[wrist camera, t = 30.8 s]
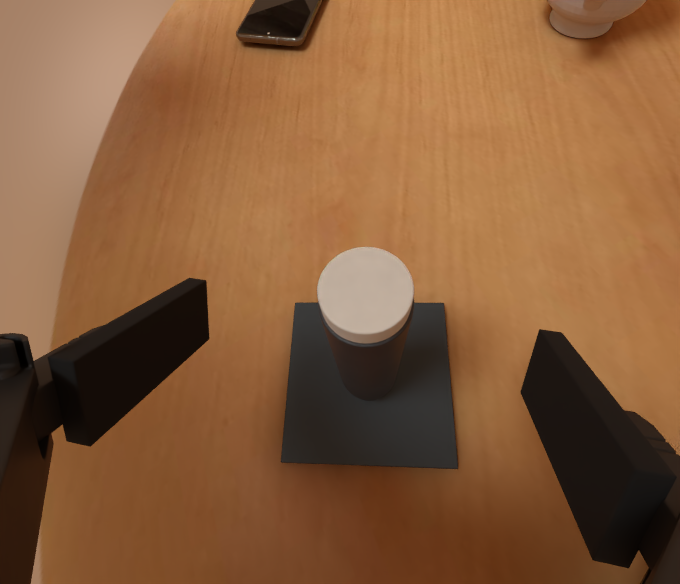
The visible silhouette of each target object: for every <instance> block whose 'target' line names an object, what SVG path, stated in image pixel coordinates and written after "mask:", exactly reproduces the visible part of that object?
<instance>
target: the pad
mask: <svg viewBox="0 0 680 584" xmlns="http://www.w3.org/2000/svg"><path fill="white" fill-rule="evenodd" d="M281 462H284V463H311V464H337V465H364V466H391V467H418V468H445V469H458V461H457V449H456V438H455V426H454V415H453V403H452V392H451V380H450V368H449V357H448V345H447V334H446V322H445V310H444V303H414V311H413V315H412V319H411V323H410V327H409V330H408V334H407V338H406V342H405V345H404V349H403V353H402V357H401V360H400V364H399V368H398V372H397V375H396V379H395V382H394V385H393V387H392V388H391V390H390V391H389V392H388V393H387V394H386V395H384V396H383V397H381V398H379V399H377V400H373V401H365V400H362V399H359V398H357V397H355V396H354V395H352V394H351V393H350V392H349V391H348V390H347V389H346V387H345V386H344V384H343V382H342V379H341V376H340V373H339V370H338V367H337V364H336V361H335V358H334V355H333V353H332V350H331V347H330V344H329V341H328V338H327V335H326V332H325V329H324V326H323V324H322V321H321V318H320V314H319V309H318V303H295V311H294V322H293V333H292V344H291V355H290V366H289V377H288V389H287V400H286V411H285V422H284V433H283V444H282V455H281Z"/></svg>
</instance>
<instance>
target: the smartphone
mask: <svg viewBox="0 0 680 584" xmlns="http://www.w3.org/2000/svg"><path fill="white" fill-rule="evenodd" d="M322 1H323V0H255V1H254V3H253V4H252V6H251V8H250V9H249V11H248V13H247V14H246V16H245V18H244V20H243V21H242V23H241V25H240V26H239V28H238V30H237V31H236V36H237V38H238V39H239V40H240V41H243V42H253V43H265V44H276V45H288V46H299V45H301V44H302V43H303V42H304V40H305V38H306V36H307V34H308V31H309V29H310V27H311V25H312V23H313V21H314V18H315V16H316V14H317V12H318V10H319V8H320V5H321V3H322Z"/></svg>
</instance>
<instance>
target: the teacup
mask: <svg viewBox="0 0 680 584" xmlns="http://www.w3.org/2000/svg"><path fill="white" fill-rule="evenodd" d="M547 1H548V3H549V4H550V6H551V7H552V8H553V10H552V11H551V13H550V23H551V25H552V26H553V27H554V28H555V29H556V30H557V31H558V32H560V33H562V34H564V35H567V36H570V37H575V38H594V37H597V36H600V35H602V34H604V33H606V32H607V31H608V30H609V29H610V28H611V26H612V24H613V21H617V20H619V19H622V18H624V17H626V16H628V15H630V14H631V13H633V12H634V11H636V10H637V9H638V8H640V7H641V6H642V5H643V4H644V3H645V2H646V1H647V0H547Z"/></svg>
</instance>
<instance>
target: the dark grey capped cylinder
mask: <svg viewBox="0 0 680 584" xmlns="http://www.w3.org/2000/svg"><path fill="white" fill-rule="evenodd" d="M317 296H318V309H319V314H320V318H321V321H322V324H323V326H324V329H325V332H326V335H327V338H328V341H329V344H330V347H331V350H332V353H333V355H334V358H335V361H336V364H337V367H338V370H339V373H340V376H341V379H342V382H343V384H344V386H345V387H346V389H347V390H348V391H349V392H350V393H351V394H352V395H354V396H355V397H357V398H359V399H362V400H365V401H373V400H377V399H379V398H381V397H383V396H384V395H386V394H387V393H388V392H389V391H390V390H391V388H392V387H393V385H394V382H395V379H396V375H397V372H398V368H399V364H400V360H401V357H402V353H403V349H404V345H405V342H406V338H407V334H408V330H409V327H410V323H411V319H412V315H413V311H414V284H413V280H412V276H411V274H410V272H409V270H408V269H407V267H406V266H405V265H404V263H403V262H402V261H401V260H400V259H399V258H397V257H396V256H395V255H393V254H391V253H389V252H387V251H385V250H382V249H379V248H373V247H358V248H353V249H350V250H347V251H345V252H342V253H341V254H339V255H337V256H336V257H335V258H333V259H332V260H331V261H330V262H329V263H328V264H327V266H326V267H325V268H324V270H323V271H322V273H321V276H320V278H319V281H318V287H317Z"/></svg>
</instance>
